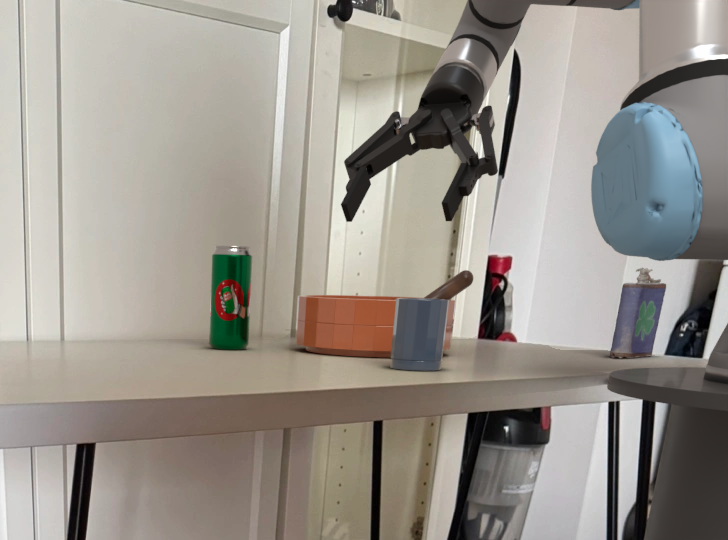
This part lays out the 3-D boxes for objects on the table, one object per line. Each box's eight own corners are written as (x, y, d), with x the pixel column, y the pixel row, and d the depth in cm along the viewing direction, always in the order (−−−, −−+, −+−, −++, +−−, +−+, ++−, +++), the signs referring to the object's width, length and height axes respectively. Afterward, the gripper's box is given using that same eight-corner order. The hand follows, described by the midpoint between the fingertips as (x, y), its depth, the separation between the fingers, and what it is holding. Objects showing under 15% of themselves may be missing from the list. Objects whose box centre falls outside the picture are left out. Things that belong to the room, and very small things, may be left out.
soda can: (227, 346, 135) (230, 246, 130) (256, 349, 132) (261, 246, 127) (200, 347, 132) (203, 245, 127) (230, 350, 129) (234, 245, 124)
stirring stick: (379, 351, 132) (477, 284, 127) (374, 343, 130) (473, 274, 125) (373, 340, 133) (470, 272, 128) (367, 332, 131) (466, 263, 126)
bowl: (478, 354, 132) (485, 300, 129) (388, 361, 119) (394, 301, 117) (356, 344, 145) (360, 294, 142) (263, 349, 132) (266, 295, 129)
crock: (450, 369, 111) (459, 299, 108) (421, 371, 108) (429, 300, 105) (409, 365, 115) (416, 297, 112) (379, 367, 111) (386, 298, 108)
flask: (623, 358, 131) (640, 267, 127) (602, 357, 133) (617, 267, 129) (656, 356, 137) (673, 268, 133) (635, 354, 139) (651, 268, 135)
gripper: (556, 110, 129) (496, 237, 124) (376, 121, 142) (316, 236, 137) (549, 53, 123) (486, 184, 118) (362, 70, 136) (298, 189, 131)
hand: (394, 212), depth 128 cm, fingers open, 13 cm apart
